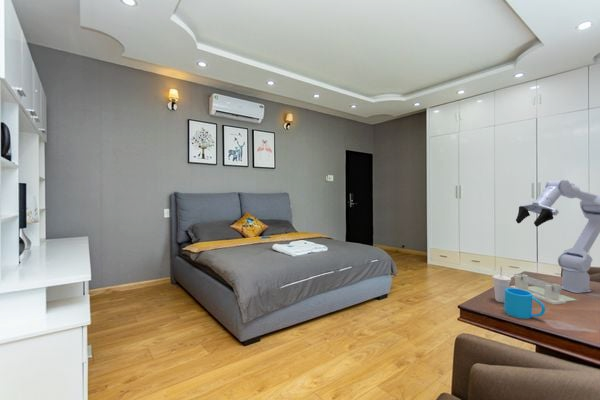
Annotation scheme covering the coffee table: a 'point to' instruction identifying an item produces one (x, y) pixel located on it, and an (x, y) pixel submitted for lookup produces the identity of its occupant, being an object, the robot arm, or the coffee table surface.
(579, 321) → the coffee table surface
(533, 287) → the mat
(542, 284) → the rail
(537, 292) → the rack
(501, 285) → the smoothie
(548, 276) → the coffee table surface
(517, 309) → the mug
